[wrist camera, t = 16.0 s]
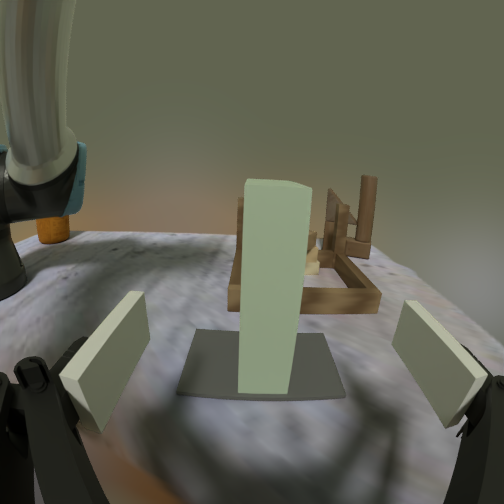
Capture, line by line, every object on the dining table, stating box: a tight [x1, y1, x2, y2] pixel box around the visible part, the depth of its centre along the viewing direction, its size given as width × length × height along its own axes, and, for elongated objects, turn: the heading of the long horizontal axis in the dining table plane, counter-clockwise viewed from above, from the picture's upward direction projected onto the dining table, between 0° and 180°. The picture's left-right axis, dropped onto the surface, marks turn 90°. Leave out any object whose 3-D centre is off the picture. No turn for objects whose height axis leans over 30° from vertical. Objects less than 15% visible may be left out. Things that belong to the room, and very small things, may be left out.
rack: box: [228, 197, 382, 314], centre depth 43 cm, size 20×20×12 cm
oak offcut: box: [306, 246, 318, 263], centre depth 49 cm, size 8×4×3 cm, turn 98°
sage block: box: [238, 179, 312, 394], centre depth 23 cm, size 4×9×16 cm, turn 0°
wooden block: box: [322, 175, 377, 259], centre depth 59 cm, size 4×11×18 cm, turn 67°
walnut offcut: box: [307, 231, 317, 250], centre depth 48 cm, size 7×4×3 cm, turn 53°
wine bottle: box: [36, 215, 70, 244], centre depth 58 cm, size 10×10×30 cm
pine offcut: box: [304, 260, 320, 275], centre depth 50 cm, size 9×4×3 cm, turn 98°
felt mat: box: [176, 329, 346, 401], centre depth 25 cm, size 14×10×1 cm
